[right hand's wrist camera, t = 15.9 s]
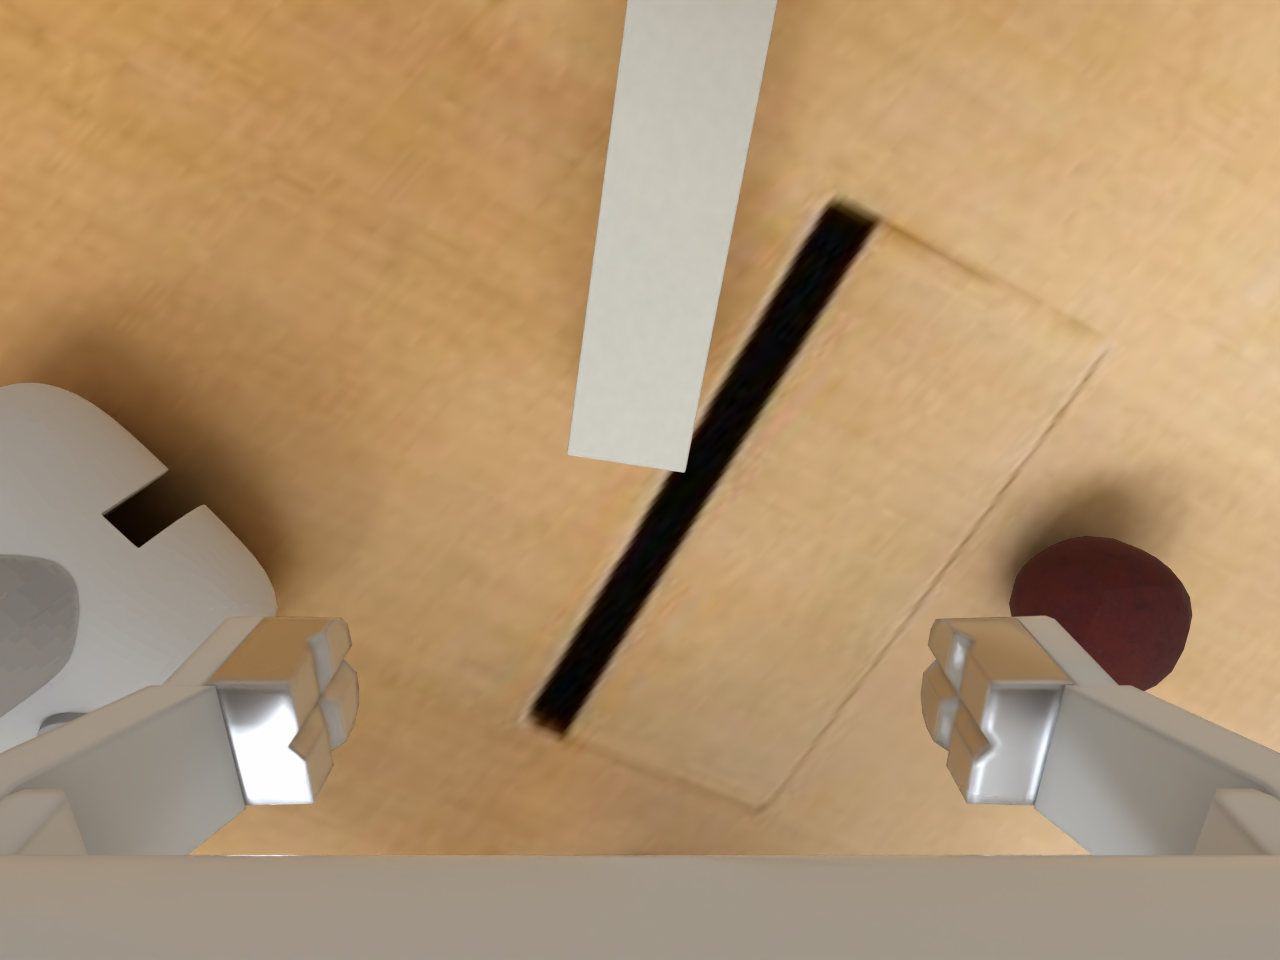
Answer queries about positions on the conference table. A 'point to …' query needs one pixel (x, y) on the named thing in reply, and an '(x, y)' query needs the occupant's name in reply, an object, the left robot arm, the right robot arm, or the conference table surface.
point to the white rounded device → (97, 567)
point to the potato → (1110, 605)
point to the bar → (666, 223)
